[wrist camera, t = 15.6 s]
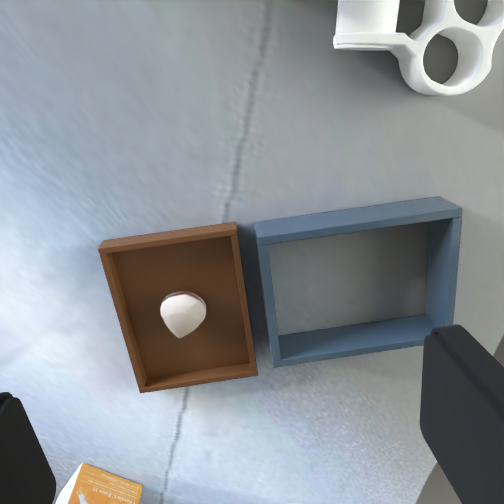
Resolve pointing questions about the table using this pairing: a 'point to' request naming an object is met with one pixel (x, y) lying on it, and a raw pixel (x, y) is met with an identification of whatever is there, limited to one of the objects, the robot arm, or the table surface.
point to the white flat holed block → (422, 39)
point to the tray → (173, 280)
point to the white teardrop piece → (183, 312)
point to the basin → (373, 333)
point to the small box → (99, 488)
